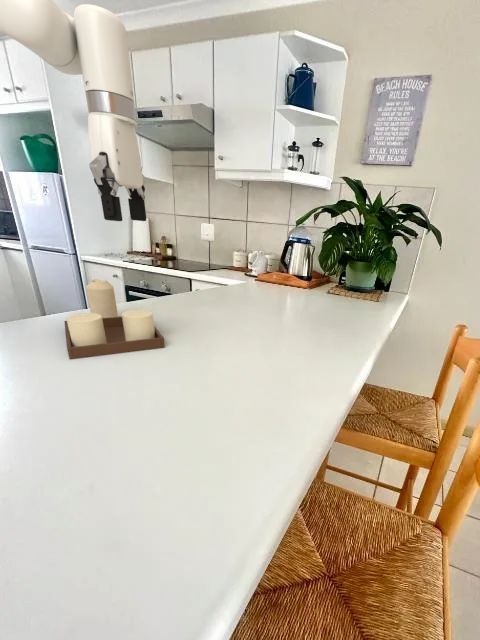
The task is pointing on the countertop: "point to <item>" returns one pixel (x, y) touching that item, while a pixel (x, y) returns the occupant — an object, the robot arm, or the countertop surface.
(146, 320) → the cream candle right
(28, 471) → the countertop surface
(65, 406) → the countertop surface
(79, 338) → the cream candle left
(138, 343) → the tray
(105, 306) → the candle
